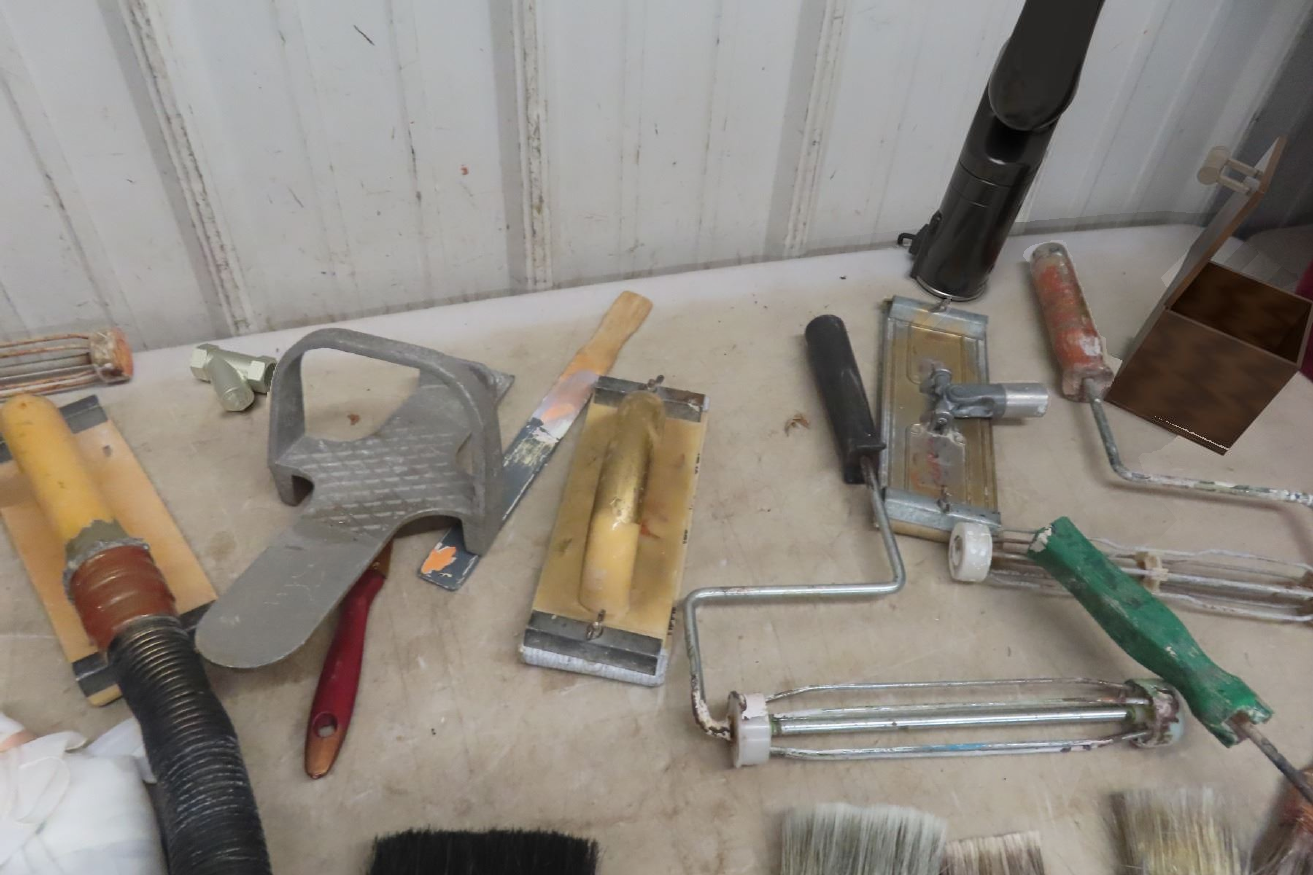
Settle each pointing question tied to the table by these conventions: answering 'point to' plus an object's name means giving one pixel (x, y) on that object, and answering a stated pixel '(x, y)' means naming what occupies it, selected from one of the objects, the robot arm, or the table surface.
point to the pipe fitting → (232, 374)
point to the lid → (1225, 208)
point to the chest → (1214, 356)
